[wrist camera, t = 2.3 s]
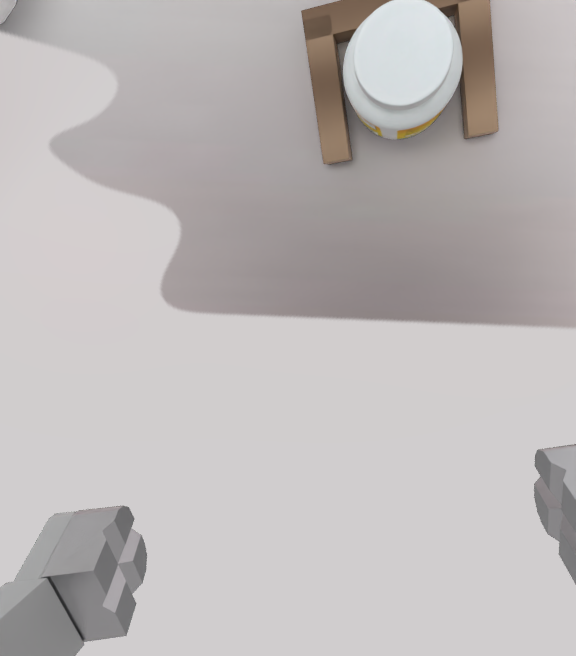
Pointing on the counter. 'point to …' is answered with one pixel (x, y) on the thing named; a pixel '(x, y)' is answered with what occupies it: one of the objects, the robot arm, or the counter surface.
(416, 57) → the supplement bottle
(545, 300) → the counter surface
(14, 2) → the foam cup
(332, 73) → the slot holder
